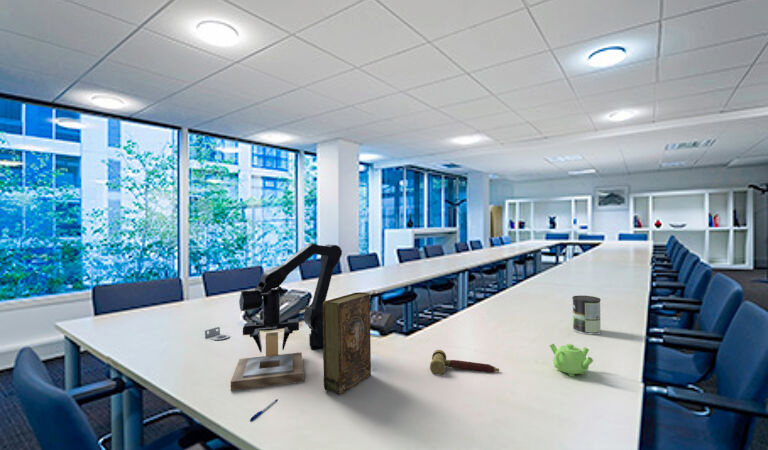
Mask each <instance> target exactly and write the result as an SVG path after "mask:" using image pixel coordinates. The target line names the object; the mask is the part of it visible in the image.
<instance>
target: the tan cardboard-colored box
mask: <svg viewBox="0 0 768 450" xmlns="http://www.w3.org/2000/svg"><path fill="white" fill-rule="evenodd" d="M272 355H279V332H277V331H276V332H275V331H274V332H267V333H265V356H272Z"/></svg>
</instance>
